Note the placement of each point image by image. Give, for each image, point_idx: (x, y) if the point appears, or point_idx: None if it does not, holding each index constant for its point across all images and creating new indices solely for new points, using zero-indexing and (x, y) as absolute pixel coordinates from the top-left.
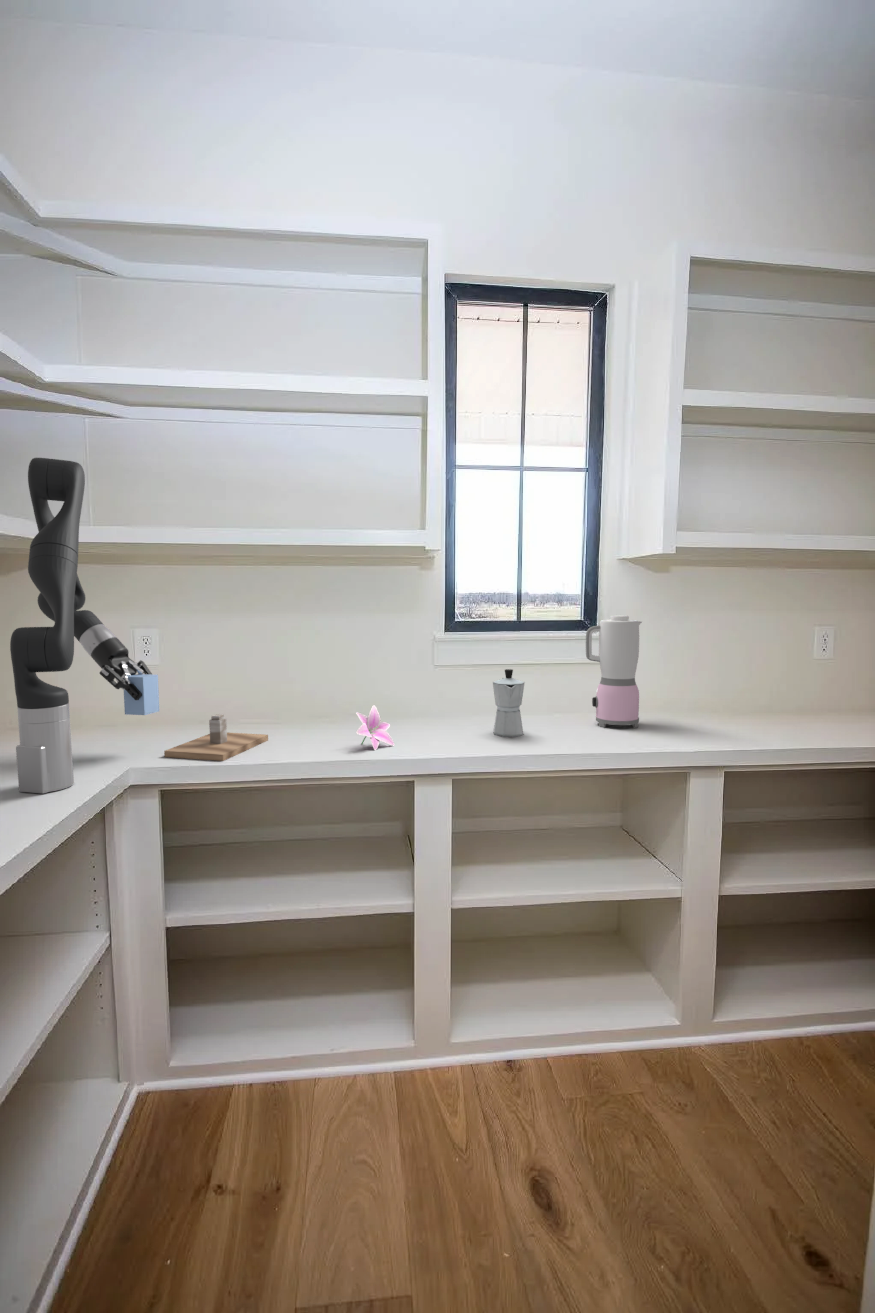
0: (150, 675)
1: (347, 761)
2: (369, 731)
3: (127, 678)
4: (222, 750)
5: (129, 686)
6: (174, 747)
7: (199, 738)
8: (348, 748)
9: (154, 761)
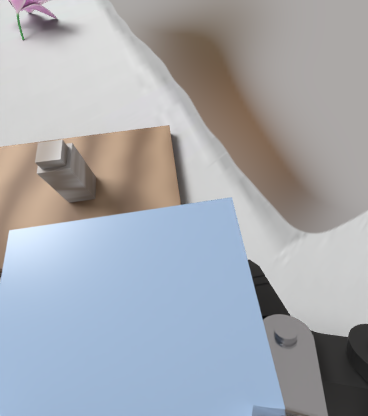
0: (83, 246)
1: (118, 20)
2: (15, 8)
3: (297, 381)
4: (142, 143)
5: (287, 312)
6: None
7: None
8: (51, 42)
9: None
